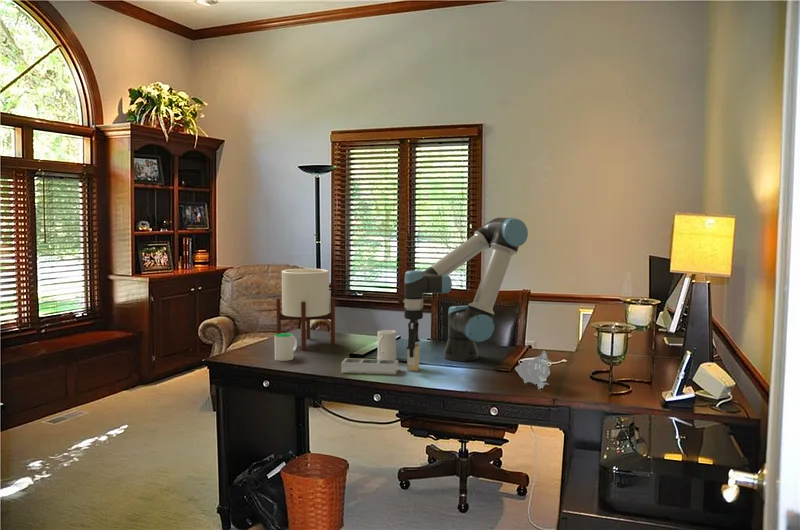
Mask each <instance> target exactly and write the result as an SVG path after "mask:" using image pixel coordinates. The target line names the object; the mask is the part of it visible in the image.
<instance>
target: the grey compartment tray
mask: <svg viewBox="0 0 800 530" xmlns="http://www.w3.org/2000/svg"><path fill="white" fill-rule="evenodd" d="M340 367H341V368H340V369H341V371H340V372H341V373H342V374H343V373H344V374H363V373H365V374H366V375H367V374H369V375H391V376H393V375H397V373H398V371H399V359H395V360H384V359H377V358H376V359H375V358H353V357H350V358H348V357H347V358H346V357H345V358H344V359H343V360H342V362H341V366H340Z"/></svg>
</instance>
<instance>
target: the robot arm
mask: <svg viewBox="0 0 800 530" xmlns="http://www.w3.org/2000/svg"><path fill="white" fill-rule="evenodd" d="M528 236H529V232H528V228H527V225H526V223H525V222H524V221H523V220H521V219H519V218H514V217H495V218H493V219H491V220H490V221H488V222H485V224H484V225H482V226H480V227H479V228H478V229H477V230H475V231H474V233H473V235H472V236H470V237H469V238H468V239H467V240H465V241H464V242H462V243H461V244H460V245H459V246H457V247H456V248H454V250H453V249H452V251H450V252H448V253H447V254H446V255H445V256H443V257H442V258H440V259H439V260H438V261H436V262H435V263H434V264H432V265H431V266H429V267H428V268H426V269H425V270H414V269H413V270H406V272H404V273H405V274H404V300H402V303H404V312H403V314H404V315H403V316H404V318H405V319H406V320H409V322H408V324H407V325H408V327H407V328H408V332H407V333H408V339H407V346H408V347H407V346H406V350H407V349H408V365H415V344H419V342H421V340H420V338H419V320H422V319H423V317H424V309H423V308H424V295H427V294H449V293H450V292H451V290H452V287H453V285H452V284H453V283H452V282H453V281H452V278H451V277H450V274H452V273H453V272H455V271H456V270H458V269H459V268H460V267H461V266H463V265H464V264H466V263H467V262H469V261H470V260H471V259H473V258H474V257H475V256H477V255H478V254H480V252H482V251H484V250H489V249H490V248H491V249H492V250H491V252H490V255H489V257H488V260H487V263H486V265H485V269H484V271H483V275H482V277H481V280H480V282H479V284H478V288H477V290H476V293H475V296H474V299H473V300H472V301H473V302H471V303H468V305H453V306H450V307H449V308H448V314H447V321H448V322H447V342H446V344H445V348H444V350H443V358H445V359H446V360H448V361H449V360H450V361H455V362H456V361H457V362H458V361H459V362H469V361H476V360H477V359H479V351H478V348H477V345H476V342H479V343H481V342H485V341H486V340H488V339H490V337H491V336H492V335H493V333H494V331H495V323H494V320H493V319H494V316H495V312H494V310H493V308H494V305H495V303H496V300H497V297H498V295H499V293H500V289H501V286H502V283H503V280H504V278H505V276H506V273H507V269H508V268H509V265H510V261H511V258H512V257H513V256H514V255H516V254H517V253H518V251H519V248H520V246H523V245H524V244H525V243H526V242H527V239H528ZM412 345H413V346H412Z"/></svg>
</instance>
